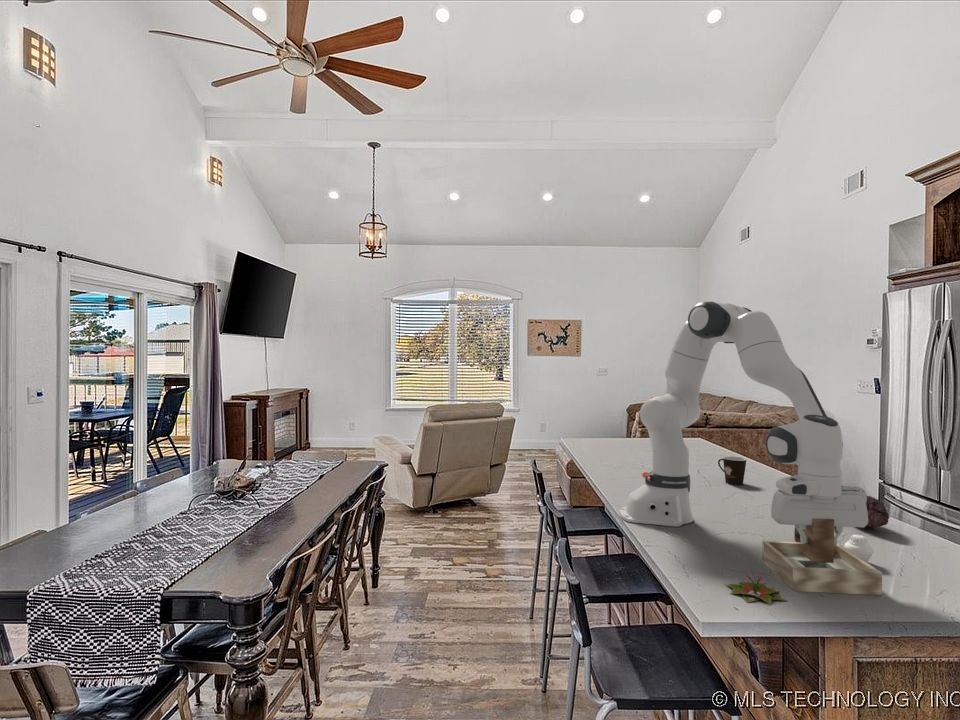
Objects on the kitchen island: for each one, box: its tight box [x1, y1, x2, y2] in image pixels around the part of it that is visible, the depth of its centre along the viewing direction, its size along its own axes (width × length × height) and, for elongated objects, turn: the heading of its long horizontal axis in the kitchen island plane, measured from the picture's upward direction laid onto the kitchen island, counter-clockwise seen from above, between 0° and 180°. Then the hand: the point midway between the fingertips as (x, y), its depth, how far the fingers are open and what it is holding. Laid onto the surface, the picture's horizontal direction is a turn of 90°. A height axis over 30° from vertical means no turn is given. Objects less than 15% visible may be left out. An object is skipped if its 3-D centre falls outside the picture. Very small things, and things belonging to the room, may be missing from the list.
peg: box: [804, 519, 834, 563], centre depth 130 cm, size 4×4×10 cm
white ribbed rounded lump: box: [843, 534, 875, 563], centre depth 140 cm, size 6×6×7 cm
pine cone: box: [865, 495, 890, 529], centre depth 167 cm, size 18×10×10 cm, turn 170°
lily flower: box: [724, 571, 787, 606], centre depth 121 cm, size 12×12×5 cm
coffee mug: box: [717, 456, 747, 486], centre depth 224 cm, size 12×9×10 cm
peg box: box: [761, 540, 883, 596], centre depth 130 cm, size 18×18×5 cm
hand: (818, 543), depth 130 cm, fingers closed on peg, 4 cm apart
